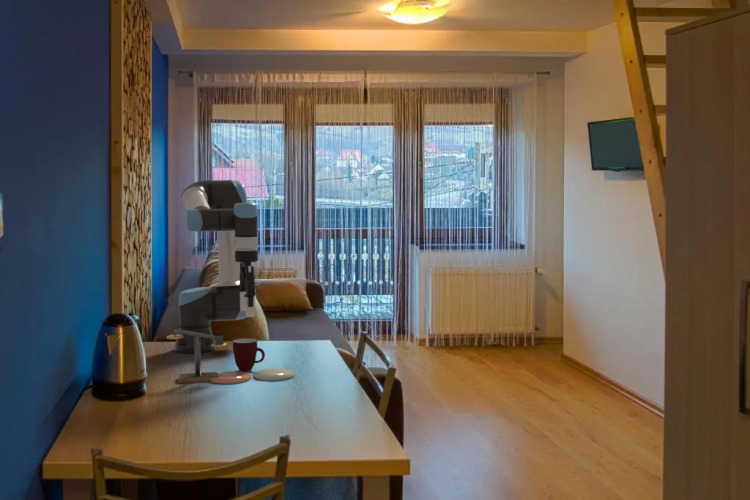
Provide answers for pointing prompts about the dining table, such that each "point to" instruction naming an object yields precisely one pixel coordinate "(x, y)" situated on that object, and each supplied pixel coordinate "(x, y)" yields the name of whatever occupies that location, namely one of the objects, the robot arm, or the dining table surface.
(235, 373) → the dish terracotta
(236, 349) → the mug
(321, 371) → the dining table surface
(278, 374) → the dish sage
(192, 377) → the balance
